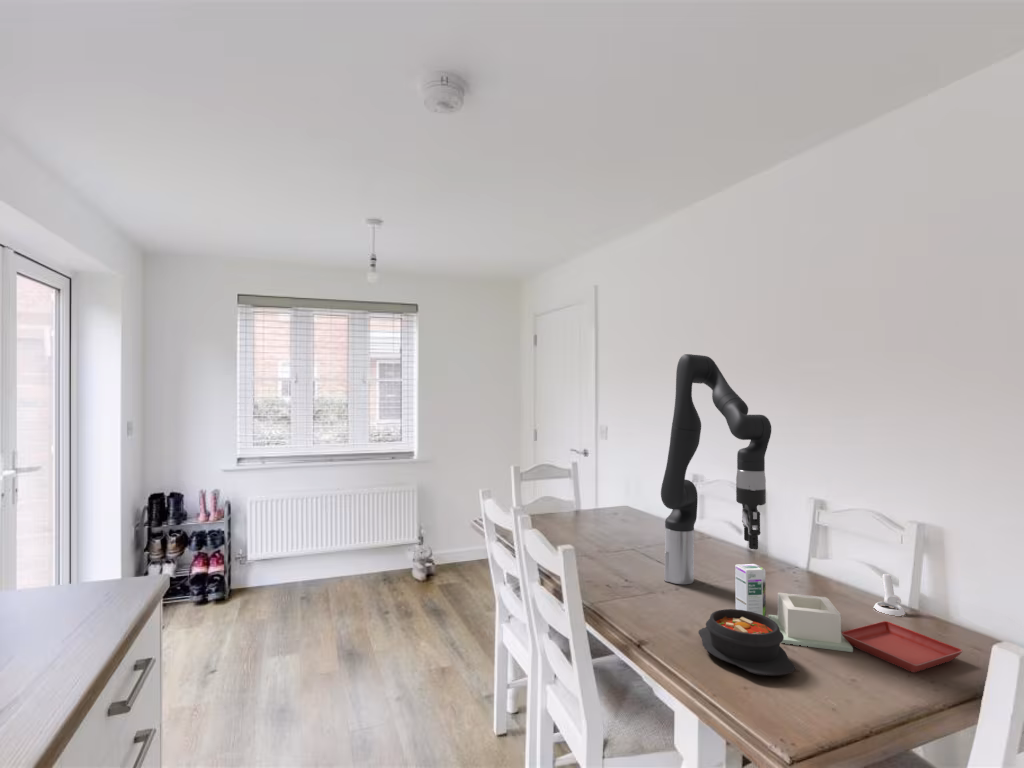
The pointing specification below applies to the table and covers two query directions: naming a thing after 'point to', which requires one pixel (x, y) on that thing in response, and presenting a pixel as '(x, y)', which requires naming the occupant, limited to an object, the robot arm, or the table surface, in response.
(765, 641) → the casserole
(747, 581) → the syrup box
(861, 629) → the plant saucer
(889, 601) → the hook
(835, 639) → the box
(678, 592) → the table surface
